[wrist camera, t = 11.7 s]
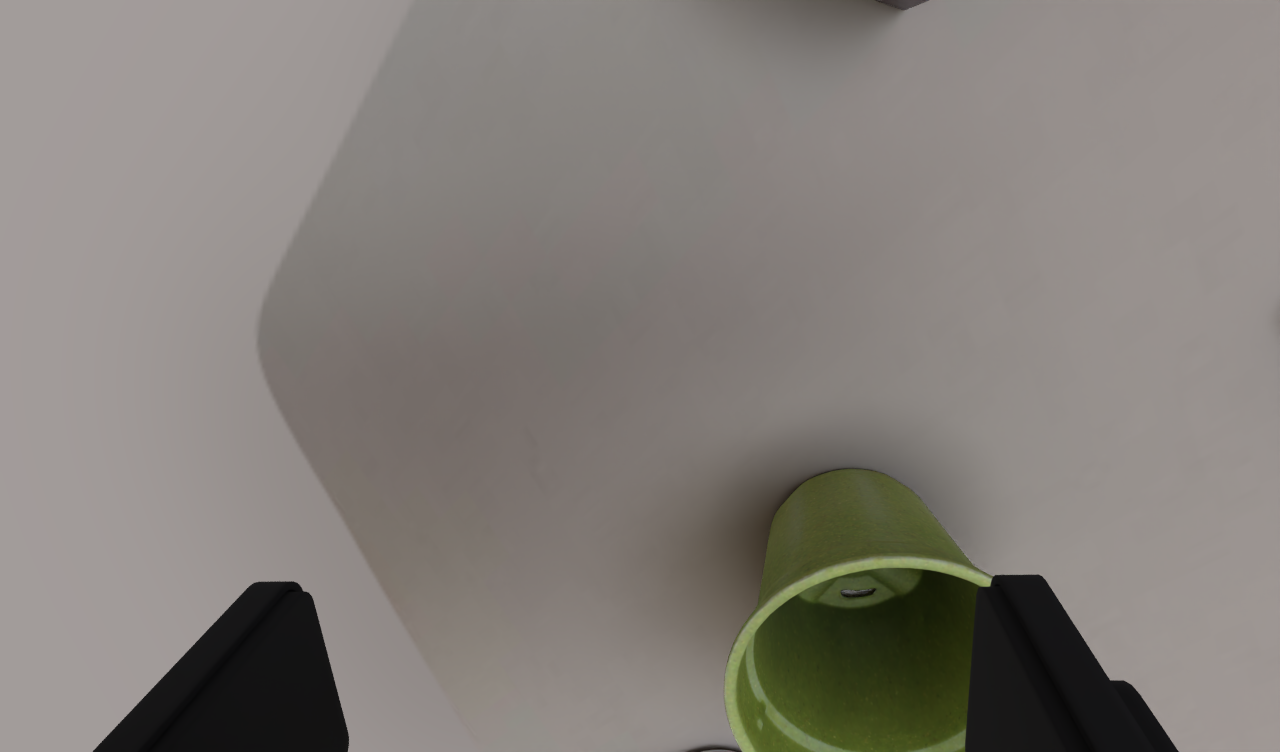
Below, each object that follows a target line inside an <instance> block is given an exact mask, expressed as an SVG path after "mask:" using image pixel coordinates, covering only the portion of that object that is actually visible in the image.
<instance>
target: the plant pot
mask: <svg viewBox="0 0 1280 752" xmlns="http://www.w3.org/2000/svg"><path fill="white" fill-rule="evenodd" d="M992 578H993V576H991V575H989V574H987V573H985V572H983V571H981V570H979V569H978V568H976V567H975V566H973V564H972V563H971V562H970V561H969V559H968V558H967V557H966V556H965V555H964V553H963V552H962V551H961V550H960V548H959V547H958V546H957V545H956V543H955V542H954V541H953V540H952V538H951V537H950V536H949V535H948V533H947V532H946V531H945V530H944V528H943V527H942V526H941V524H940V523H939V522H938V521H937V519H936V518H935V517H934V515H933V514H932V513H931V512H930V510H929V509H928V508H927V507H926V505H925V504H924V503H923V502H922V500H921V499H920V498H919V497H918V496H917V495H916V494H915V493H914V492H913V491H911V490H910V489H909V488H907V487H906V486H904V485H903V484H901V483H900V482H898V481H896V480H895V479H893V478H891V477H890V476H888V475H885V474H882V473H879V472H876V471H870V470H862V469H842V470H836V471H831V472H828V473H824V474H821V475H818V476H816V477H813V478H811V479H809V480H808V481H806V482H804V483H803V484H801V485H800V486H799V487H798V488H797V489H796V490H795V491H794V492H793V493H792V494H791V495H790V497H789V498H788V499H787V500H786V501H785V502H784V503H783V504H782V506H781V507H780V508H779V509H778V511H777V512H776V514H775V516H774V518H773V521H772V524H771V529H770V534H769V539H768V544H767V551H766V558H765V564H764V570H763V576H762V582H761V588H760V594H759V600H758V605H757V607H756V609H755V610H754V612H753V613H752V614H751V615H750V616H749V618H748V619H747V621H746V622H745V623H744V625H743V626H742V628H741V630H740V631H739V633H738V635H737V637H736V639H735V641H734V643H733V646H732V649H731V651H730V654H729V657H728V661H727V666H726V671H725V680H724V701H725V709H726V713H727V717H728V721H729V724H730V727H731V730H732V732H733V735H734V737H735V739H736V741H737V743H738V746H739V747H740V749H741V751H742V752H965V737H966V724H967V710H968V697H969V684H970V671H971V658H972V644H973V631H974V618H975V605H976V594H977V590H978V588H979V587H988V586H990V584H991V580H992ZM872 588H875V589H876V590H875V591H874V593H873V594H869V595H866V596H859V597H845V596H843V595H841V591H842V590H855V591H860V590H866V589H872Z"/></svg>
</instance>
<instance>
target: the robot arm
mask: <svg viewBox="0 0 1280 752" xmlns="http://www.w3.org/2000/svg"><path fill="white" fill-rule="evenodd" d="M348 746H349V736H348V731H347V727H346V723H345V719H344V716H343V711H342V708H341V704H340V700H339V696H338V692H337V689H336V685H335V681H334V677H333V673H332V670H331V666H330V662H329V658H328V654H327V650H326V647H325V643H324V639H323V635H322V631H321V627H320V624H319V620H318V616H317V612H316V609H315V605H314V601H313V598H312V596H311V595H310V594H309V593H308V592H303V590H302V588H301V587H300V585H299V584H298V583H296V582H256V583H254V584H252V585H251V586H249V587H248V588H247V589H246V591H244V593H243V594H242V595H241V596H240V597H239V598H238V599H237V600H236V601H235V602H234V603H233V604H232V605H231V606H230V607H229V608H228V610H226V611H225V613H224V614H223V615H222V616H221V617H220V618H219V619H218V620H217V621H216V622H215V623H214V624H213V625H212V626H211V627H210V628H209V629H208V630H207V631H206V633H205V634H204V635H203V636H202V637H201V638H200V639H199V640H198V641H197V642H196V643H195V644H194V645H193V646H192V647H191V649H189V651H188V652H187V653H186V654H185V655H184V656H183V657H182V658H181V659H180V660H179V661H178V662H177V663H176V664H175V665H174V666H173V667H172V668H171V670H170V671H169V672H168V673H167V674H166V675H165V676H164V677H163V678H162V679H161V680H160V681H159V682H158V683H157V684H156V685H155V686H154V688H152V690H151V691H150V692H149V693H148V694H147V695H146V696H145V697H144V698H143V699H142V700H141V701H140V702H139V703H138V704H137V706H135V707H134V709H133V710H132V711H131V712H130V713H129V714H128V715H127V716H126V717H125V718H124V719H123V720H122V721H121V722H120V724H118V726H116V728H115V729H114V730H113V731H112V732H111V733H110V734H109V735H108V736H107V737H106V738H105V739H104V740H103V741H102V743H100V744H99V745H98V747H97V748H96V749H95V750H94V751H93V752H348ZM965 752H1178V750H1177V749H1176V747H1175V746H1174V744H1173V743H1172V741H1171V740H1170V738H1169V737H1168V735H1167V734H1166V732H1165V731H1164V729H1163V728H1162V726H1161V725H1160V723H1159V722H1158V721H1157V719H1156V718H1155V716H1154V715H1153V713H1152V712H1151V710H1150V709H1149V707H1148V706H1147V704H1146V703H1145V701H1144V700H1143V698H1142V697H1141V695H1140V694H1139V693H1138V692H1137V691H1136V689H1135V688H1134V687H1133V686H1132V685H1131V684H1129V683H1127V682H1125V681H1110V680H1109V678H1108V677H1107V675H1106V673H1105V672H1104V670H1103V669H1102V667H1101V666H1100V664H1099V662H1098V661H1097V659H1096V658H1095V656H1094V655H1093V653H1092V652H1091V650H1090V648H1089V647H1088V645H1087V644H1086V642H1085V641H1084V639H1083V638H1082V636H1081V634H1080V633H1079V631H1078V630H1077V628H1076V627H1075V625H1074V624H1073V622H1072V620H1071V619H1070V617H1069V616H1068V614H1067V613H1066V611H1065V610H1064V608H1063V606H1062V605H1061V603H1060V602H1059V600H1058V599H1057V597H1056V596H1055V594H1054V592H1053V591H1052V589H1051V588H1050V586H1049V585H1048V583H1047V582H1046V580H1045V579H1044V578H1043V577H1042V576H1040V575H995V576H994V577H993V578H992V580H991V584H990V586H988V587H979V588H978V590H977V594H976V605H975V618H974V631H973V644H972V658H971V671H970V684H969V697H968V710H967V724H966V737H965Z"/></svg>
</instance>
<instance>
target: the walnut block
mask: <svg viewBox="0 0 1280 752" xmlns="http://www.w3.org/2000/svg"><path fill="white" fill-rule="evenodd" d="M876 1H879V2H882V3H885V4H888V5H890V6H893V7H896V8H899V9H902V10H906V9H909V8H911V7H914V6H916V5H919V4H921V3H924V2H926V1H929V0H876Z"/></svg>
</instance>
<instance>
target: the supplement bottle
mask: <svg viewBox="0 0 1280 752" xmlns="http://www.w3.org/2000/svg"><path fill="white" fill-rule="evenodd" d="M702 752H735V751H730V750H708V751H702Z"/></svg>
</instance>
